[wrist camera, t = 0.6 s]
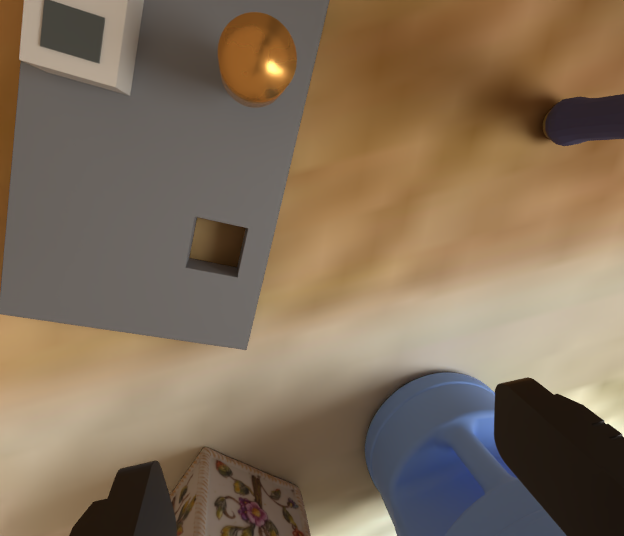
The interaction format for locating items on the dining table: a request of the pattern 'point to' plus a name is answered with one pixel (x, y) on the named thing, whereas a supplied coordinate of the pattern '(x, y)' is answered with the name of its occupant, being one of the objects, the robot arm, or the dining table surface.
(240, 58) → the orange rounded piece
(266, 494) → the decorative jar
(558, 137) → the rubber mallet
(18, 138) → the board
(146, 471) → the robot arm
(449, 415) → the water jug
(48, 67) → the white boxy piece
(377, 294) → the dining table surface
